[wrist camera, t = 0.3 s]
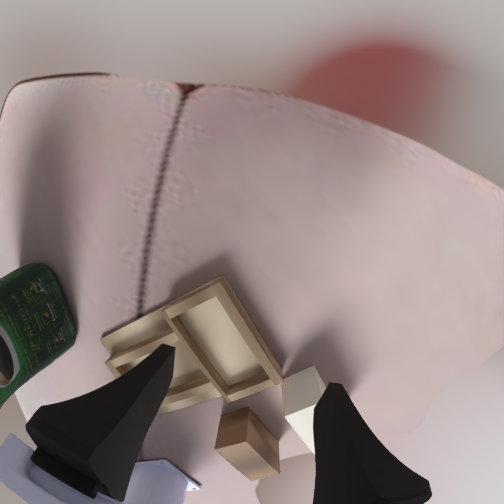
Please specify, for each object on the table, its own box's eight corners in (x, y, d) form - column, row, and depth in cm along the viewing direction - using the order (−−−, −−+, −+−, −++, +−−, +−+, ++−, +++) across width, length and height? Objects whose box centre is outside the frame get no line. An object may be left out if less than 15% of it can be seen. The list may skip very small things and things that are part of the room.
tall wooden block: (221, 415, 25) (214, 449, 20) (248, 406, 24) (246, 441, 20) (252, 448, 26) (251, 480, 21) (278, 441, 26) (279, 474, 21)
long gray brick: (310, 421, 25) (316, 457, 20) (281, 378, 24) (284, 416, 19) (339, 409, 24) (349, 444, 19) (313, 364, 23) (323, 401, 18)
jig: (160, 412, 25) (155, 423, 23) (101, 337, 23) (92, 346, 22) (282, 369, 23) (283, 382, 21) (223, 274, 22) (219, 281, 20)
